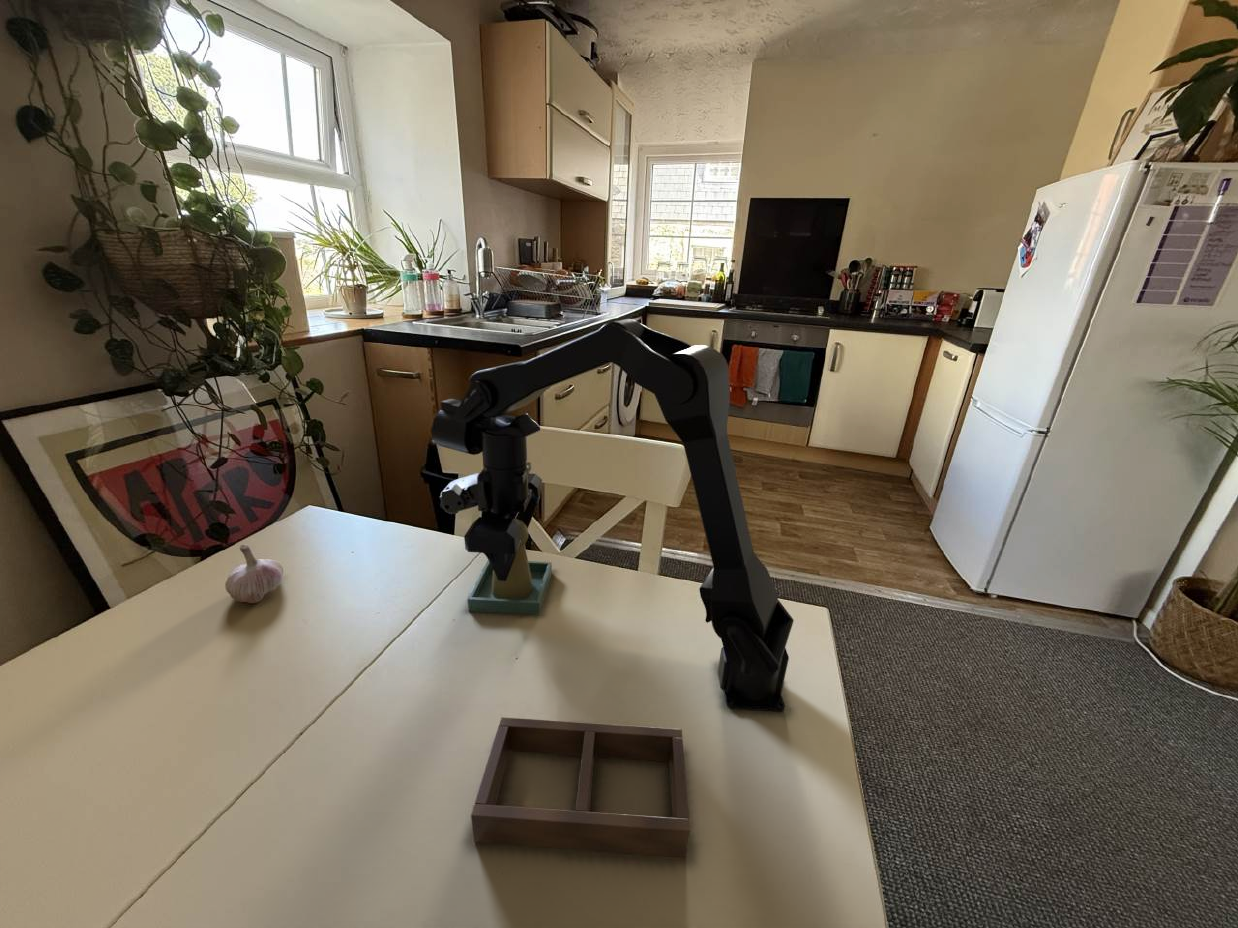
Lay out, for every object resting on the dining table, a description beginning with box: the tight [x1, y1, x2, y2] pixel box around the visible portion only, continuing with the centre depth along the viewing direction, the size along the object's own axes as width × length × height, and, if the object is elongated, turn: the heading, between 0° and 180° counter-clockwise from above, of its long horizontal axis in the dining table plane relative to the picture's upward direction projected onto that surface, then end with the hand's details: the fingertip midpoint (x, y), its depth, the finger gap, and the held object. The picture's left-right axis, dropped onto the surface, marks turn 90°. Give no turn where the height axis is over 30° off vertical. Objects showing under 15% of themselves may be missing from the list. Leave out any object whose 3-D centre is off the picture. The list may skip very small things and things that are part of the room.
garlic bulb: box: [224, 543, 285, 604], centre depth 70 cm, size 8×7×8 cm
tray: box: [467, 559, 553, 616], centre depth 73 cm, size 10×10×2 cm
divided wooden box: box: [470, 716, 691, 858], centre depth 45 cm, size 18×10×4 cm, turn 87°
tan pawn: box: [492, 519, 533, 600], centre depth 71 cm, size 6×6×11 cm
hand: (510, 561), depth 72 cm, fingers open, 9 cm apart
